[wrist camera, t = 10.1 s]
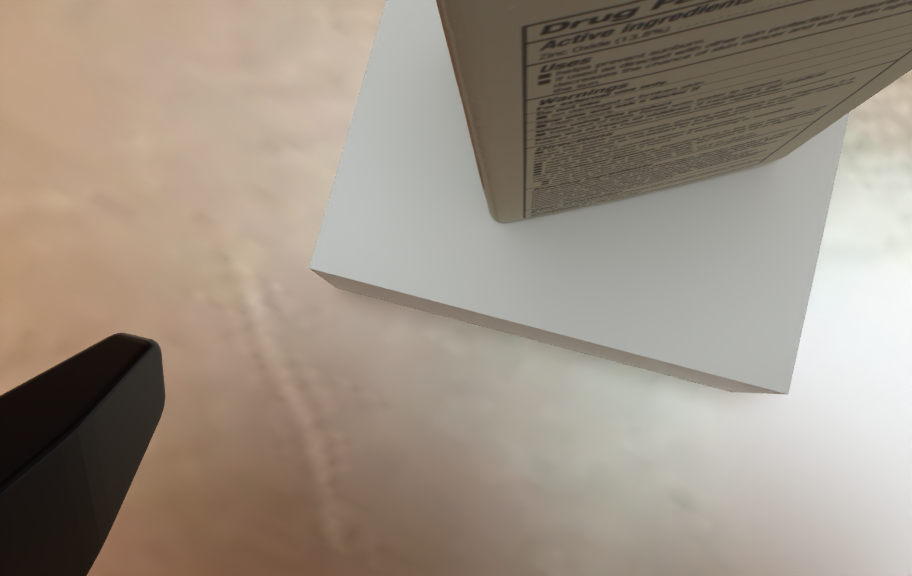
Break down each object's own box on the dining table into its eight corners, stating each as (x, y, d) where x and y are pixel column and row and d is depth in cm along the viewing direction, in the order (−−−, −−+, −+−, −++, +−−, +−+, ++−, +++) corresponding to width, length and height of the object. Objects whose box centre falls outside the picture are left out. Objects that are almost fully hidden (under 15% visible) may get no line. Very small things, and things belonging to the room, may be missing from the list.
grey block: (807, 21, 21) (887, -62, 17) (723, 391, 20) (787, 394, 16) (440, -70, 22) (435, -171, 18) (338, 289, 20) (309, 267, 16)
